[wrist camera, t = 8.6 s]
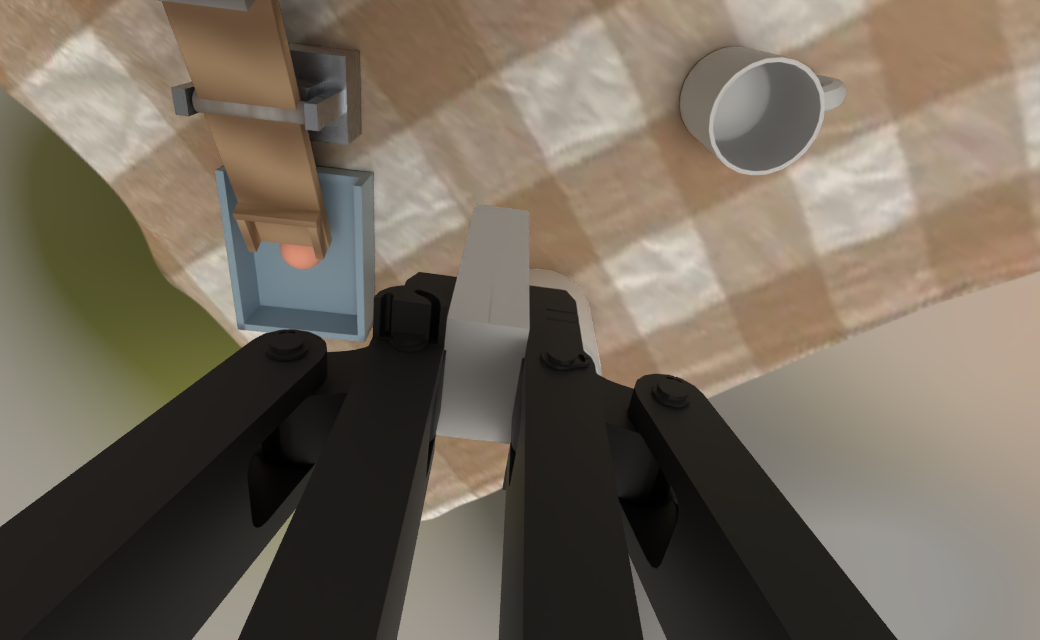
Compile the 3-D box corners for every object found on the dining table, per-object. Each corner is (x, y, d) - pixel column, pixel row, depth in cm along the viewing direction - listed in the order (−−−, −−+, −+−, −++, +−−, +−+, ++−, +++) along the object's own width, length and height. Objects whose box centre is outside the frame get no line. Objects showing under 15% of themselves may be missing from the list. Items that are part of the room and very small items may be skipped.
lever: (164, -167, 31) (72, -101, 25) (293, -149, 31) (231, -81, 26) (272, 186, 50) (234, 268, 45) (352, 194, 51) (324, 277, 45)
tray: (237, 157, 48) (214, 170, 44) (373, 172, 48) (361, 186, 45) (256, 307, 55) (237, 329, 51) (375, 319, 55) (364, 342, 52)
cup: (674, 57, 44) (705, 71, 36) (812, 26, 43) (876, 34, 35) (681, 153, 47) (711, 185, 39) (809, 126, 46) (867, 154, 38)
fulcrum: (234, 36, 43) (161, 47, 35) (359, 51, 44) (318, 66, 35) (244, 119, 46) (178, 149, 38) (361, 133, 47) (323, 166, 38)
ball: (265, 239, 47) (277, 263, 50) (297, 261, 47) (308, 284, 50) (296, 211, 49) (306, 236, 52) (328, 233, 48) (336, 256, 51)
